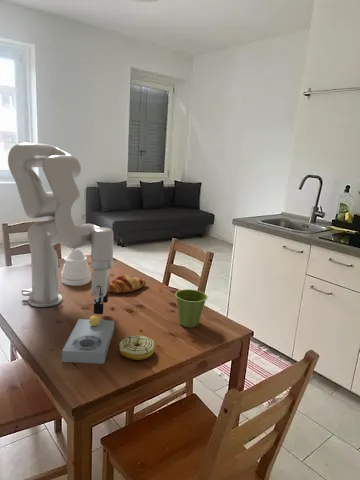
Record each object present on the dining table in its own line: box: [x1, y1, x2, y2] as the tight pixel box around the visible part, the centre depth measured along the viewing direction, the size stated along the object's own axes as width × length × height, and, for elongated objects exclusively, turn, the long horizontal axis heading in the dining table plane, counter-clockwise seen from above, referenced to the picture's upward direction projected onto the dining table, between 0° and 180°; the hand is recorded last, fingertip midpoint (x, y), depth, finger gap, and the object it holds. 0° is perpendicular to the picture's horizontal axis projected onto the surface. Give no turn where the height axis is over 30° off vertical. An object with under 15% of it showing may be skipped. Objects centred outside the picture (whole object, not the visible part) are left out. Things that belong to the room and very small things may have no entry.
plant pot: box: [174, 288, 209, 328], centre depth 130 cm, size 12×12×11 cm
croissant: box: [107, 274, 148, 294], centre depth 156 cm, size 21×10×8 cm
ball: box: [88, 315, 101, 326], centre depth 117 cm, size 3×3×3 cm
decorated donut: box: [119, 335, 156, 361], centre depth 109 cm, size 10×11×4 cm
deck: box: [61, 318, 115, 365], centre depth 112 cm, size 20×12×4 cm, turn 2°
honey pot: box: [60, 248, 92, 287], centre depth 160 cm, size 13×13×18 cm
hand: (100, 307), depth 128 cm, fingers open, 9 cm apart
